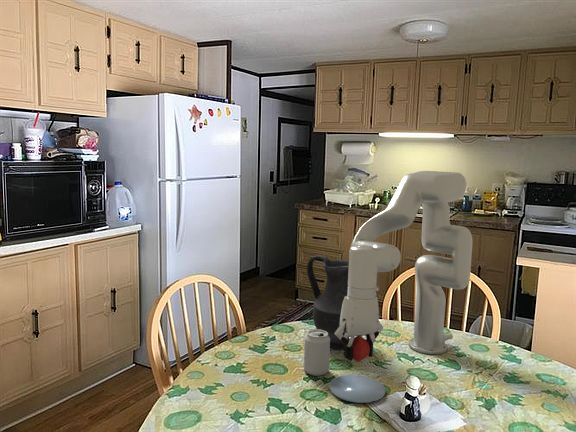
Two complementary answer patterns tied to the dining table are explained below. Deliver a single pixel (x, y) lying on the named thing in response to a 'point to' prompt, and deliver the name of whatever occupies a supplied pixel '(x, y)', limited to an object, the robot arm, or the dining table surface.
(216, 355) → the dining table surface
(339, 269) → the pitcher
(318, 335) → the can
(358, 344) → the onion
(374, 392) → the plate
